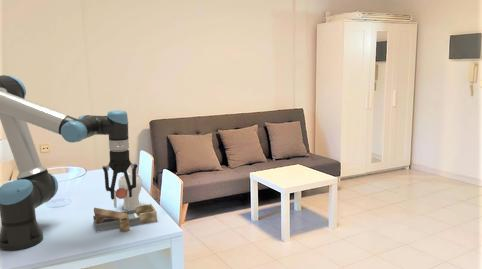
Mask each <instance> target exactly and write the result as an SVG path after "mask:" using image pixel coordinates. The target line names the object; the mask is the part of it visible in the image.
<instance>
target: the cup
mask: <svg viewBox="0 0 482 269" xmlns="http://www.w3.org/2000/svg"><path fill="white" fill-rule="evenodd" d="M128 177H129V180H130V184H131V185H132V173H130V174H128ZM141 177H142V176H141V175H140V174H137V173H136V188H133V189H132V197H129V203H130V206H127V199H126V197H125V198H123V208H122V209H124V211H127V210H134V209H136V206H140V200H139V199H140V197H139V196H140V194H141V191H142V187H143V182H142V181H143V180H142V178H141ZM119 188H124V189H125V190H126V189H128V186H127V183H126V179H125V176H124V174H123V175H121V176H119V178H118V189H119Z"/></svg>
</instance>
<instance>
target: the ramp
mask: <svg viewBox="0 0 482 269" xmlns="http://www.w3.org/2000/svg"><path fill="white" fill-rule="evenodd" d="M93 213H94V216H95V217H96V223H97V224H100V223H103V217H104V218H110V219H116V220H119V219H120V218H126V217H128V215H127V213H123V212H121V211H116V210H110V209H104V208H99V207H94V208H93ZM128 219H129V217H128Z"/></svg>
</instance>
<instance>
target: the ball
mask: <svg viewBox="0 0 482 269" xmlns="http://www.w3.org/2000/svg"><path fill="white" fill-rule="evenodd" d="M115 191H116V199H118V200H119V199H120V200H121V199H123V198H125V197H126V195H127V191H126V190H125V189H124V188H119V187H118V188H117V189H116V190H115ZM123 200H124V199H123Z"/></svg>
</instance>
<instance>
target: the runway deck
mask: <svg viewBox="0 0 482 269" xmlns="http://www.w3.org/2000/svg"><path fill="white" fill-rule="evenodd" d="M120 212H123V213H127V215H128V217H129V227H134V226H139V225H142V224H141V222H140V217H138V215H137V214H136V209H134V210H123V211H122V210H121V211H120ZM92 219H93V225H94V229H95V233H99V232H100V233H101V232H104V231H105V232H106V231H111V230H116V229H120V223H119V220H116V219H110V218H104V217H103V223H100V224H97V223H96V217H95V215H93V218H92Z"/></svg>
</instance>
